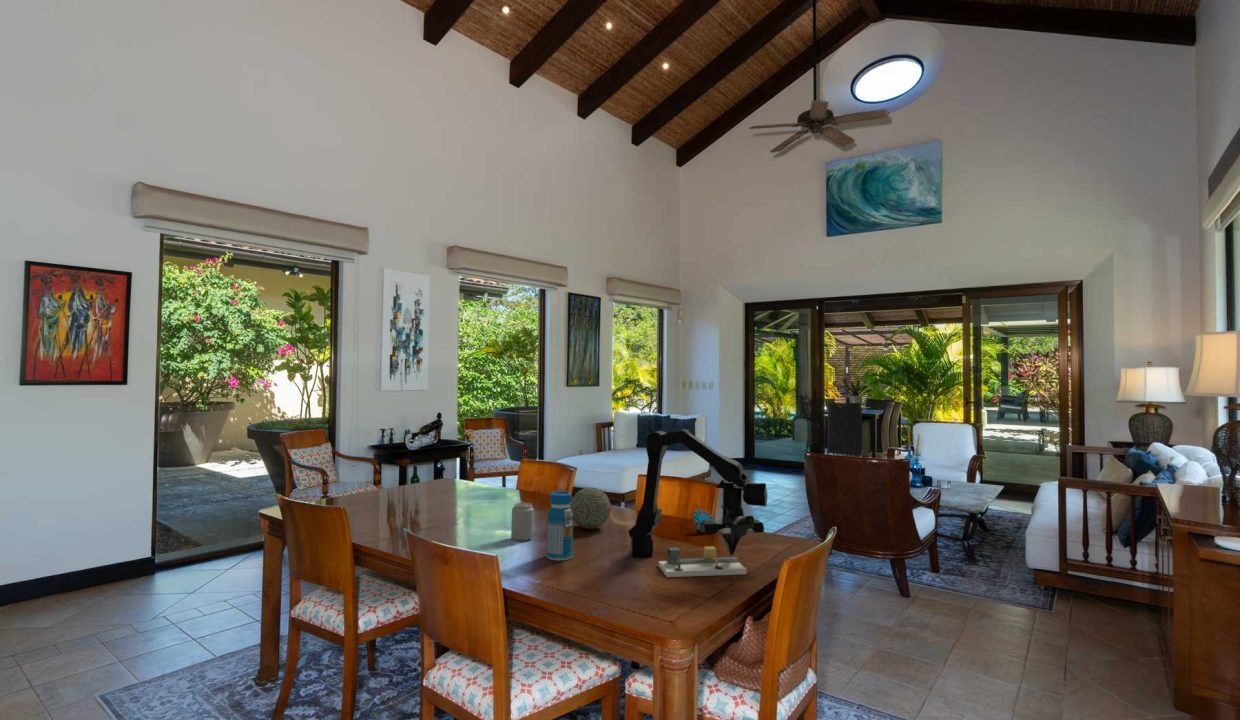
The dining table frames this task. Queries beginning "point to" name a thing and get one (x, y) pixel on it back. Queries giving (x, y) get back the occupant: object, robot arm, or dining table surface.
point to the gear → (701, 517)
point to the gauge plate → (701, 569)
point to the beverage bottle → (560, 527)
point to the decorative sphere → (590, 508)
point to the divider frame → (675, 558)
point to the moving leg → (711, 554)
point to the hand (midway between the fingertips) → (731, 554)
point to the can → (522, 521)
